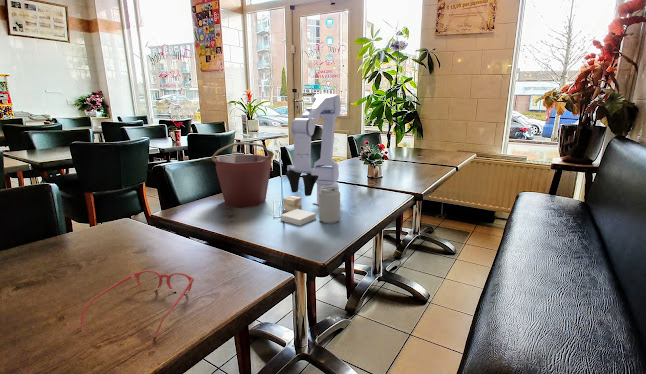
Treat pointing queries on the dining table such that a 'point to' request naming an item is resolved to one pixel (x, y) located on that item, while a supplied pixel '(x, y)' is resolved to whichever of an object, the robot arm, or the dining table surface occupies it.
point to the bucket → (243, 177)
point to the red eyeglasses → (140, 286)
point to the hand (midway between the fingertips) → (301, 193)
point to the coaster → (298, 217)
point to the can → (329, 205)
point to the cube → (292, 203)
